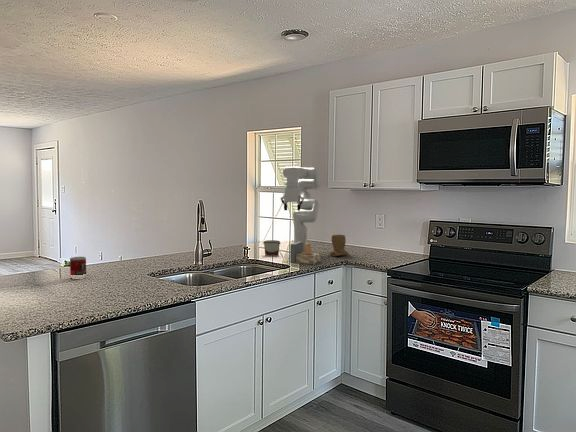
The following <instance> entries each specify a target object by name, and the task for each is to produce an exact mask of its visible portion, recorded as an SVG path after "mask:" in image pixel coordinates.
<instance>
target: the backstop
mask: <svg viewBox="0 0 576 432" xmlns="http://www.w3.org/2000/svg"><path fill="white" fill-rule="evenodd" d="M289 247H290V248H289V249H290V250H289V251H290V252H289V253H290V255H289V256H290V257H289V260H290V264H291V263H292V264H296V255H297V254H300V253H302V252H303V242H296V243H294V242H292V243H290V245H289Z"/></svg>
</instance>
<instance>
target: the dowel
mask: <svg viewBox="0 0 576 432" xmlns="http://www.w3.org/2000/svg"><path fill="white" fill-rule="evenodd" d="M311 253H312V243H311V242H310V243H308V242H307V243H306V244H305V255H311Z"/></svg>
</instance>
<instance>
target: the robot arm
mask: <svg viewBox="0 0 576 432" xmlns="http://www.w3.org/2000/svg"><path fill="white" fill-rule="evenodd" d="M282 175H283V178H285V179H286V182H285V183H284V185H285V186H286V187H284V195H283V196H281V197H280V199H279V200H280V201H281V203H282V204H283V210H284V211H288V203H297V206H296V207H297V209H295V210H294V211H292V212H293V213H292V218H293V219H292V220H293V243H296V242H303V252H305V244H306V243H308V227H307V225H306V224H307V223H308V224H314V223H316V222H317V219H318V215H319V214H318V213H319V210H320V209H319V208H320V203H319V201H318V199H315V198H313V199H312V196H311V194H310V192H308V191H318V190H319V189H321V179H320V174H319V172H318V170H317V168H315V167H302V166H285V167H284V168H283V170H282Z"/></svg>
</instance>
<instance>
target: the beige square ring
mask: <svg viewBox="0 0 576 432" xmlns="http://www.w3.org/2000/svg"><path fill="white" fill-rule="evenodd" d="M318 262H319V263H320V262H321V253H318V252H317V253H315V252H311V255H305V252H302V253H300V254H297V255H296V263H297V264H306V263H307V264H308V265H315V264H317V263H318ZM296 263H295V264H296ZM307 264H306V265H307Z"/></svg>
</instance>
